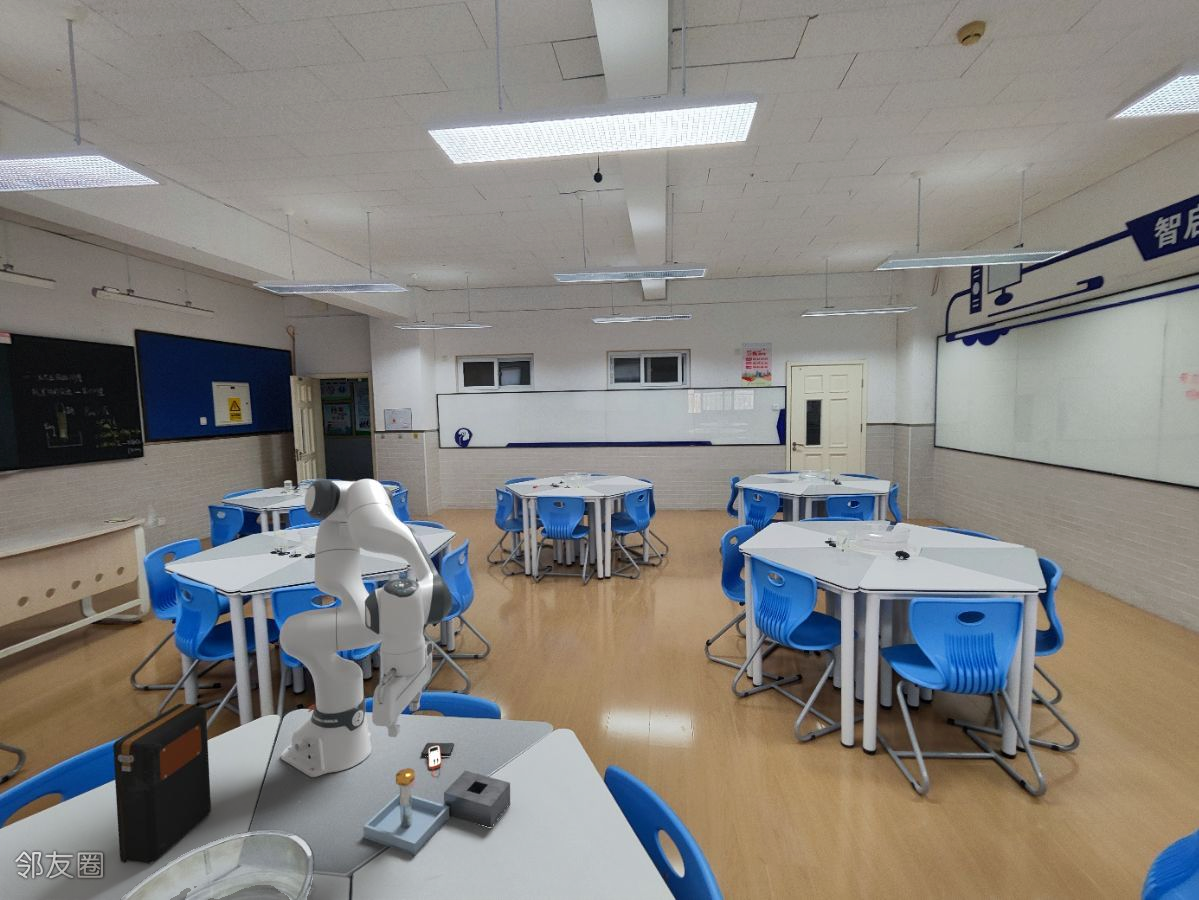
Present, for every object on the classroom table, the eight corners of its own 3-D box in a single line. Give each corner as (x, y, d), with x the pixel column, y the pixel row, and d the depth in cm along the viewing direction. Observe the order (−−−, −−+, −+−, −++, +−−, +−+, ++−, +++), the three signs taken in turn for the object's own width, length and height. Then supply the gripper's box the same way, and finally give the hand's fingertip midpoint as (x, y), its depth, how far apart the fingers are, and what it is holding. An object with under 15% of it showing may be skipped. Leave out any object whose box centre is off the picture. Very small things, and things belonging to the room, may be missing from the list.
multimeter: (446, 796, 127) (445, 782, 127) (396, 792, 128) (396, 778, 128) (471, 750, 145) (471, 737, 145) (427, 747, 146) (427, 734, 146)
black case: (183, 808, 123) (177, 700, 121) (217, 811, 122) (212, 703, 120) (113, 865, 107) (105, 742, 106) (152, 869, 106) (145, 745, 105)
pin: (395, 822, 118) (393, 772, 117) (413, 815, 120) (411, 766, 119) (399, 833, 114) (398, 782, 114) (418, 825, 117) (416, 775, 116)
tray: (363, 837, 114) (363, 826, 114) (401, 802, 125) (400, 791, 125) (414, 855, 110) (414, 843, 109) (449, 817, 120) (449, 806, 120)
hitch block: (444, 814, 121) (443, 792, 121) (465, 790, 128) (465, 770, 128) (491, 828, 117) (490, 806, 116) (510, 803, 124) (510, 782, 124)
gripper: (394, 684, 104) (395, 753, 105) (436, 639, 124) (437, 697, 125) (362, 682, 105) (364, 751, 106) (410, 637, 125) (411, 695, 126)
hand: (404, 721), depth 116 cm, fingers open, 8 cm apart
